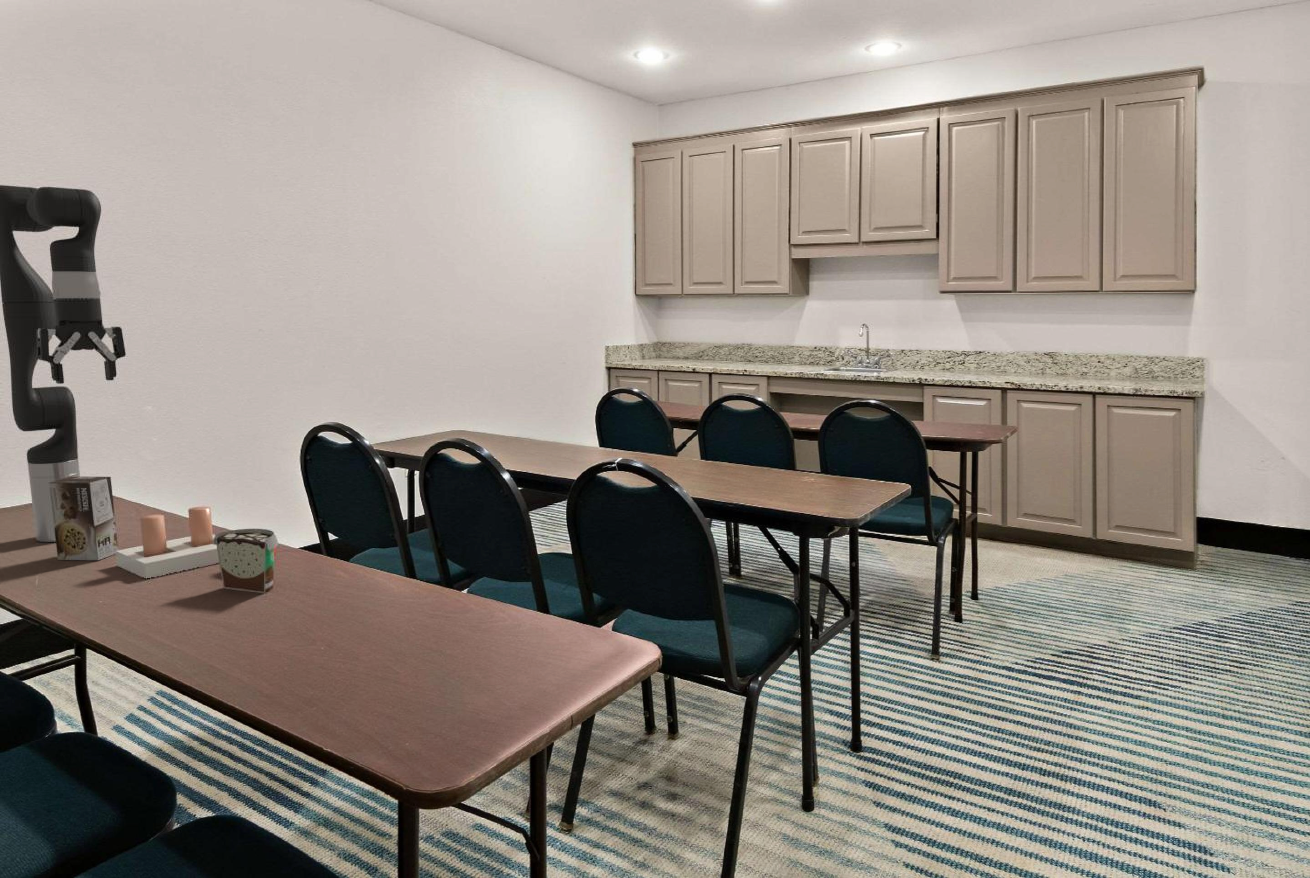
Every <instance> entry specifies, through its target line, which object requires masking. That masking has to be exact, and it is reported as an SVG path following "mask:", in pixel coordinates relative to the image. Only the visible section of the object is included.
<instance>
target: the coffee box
mask: <svg viewBox="0 0 1310 878" xmlns="http://www.w3.org/2000/svg"><path fill="white" fill-rule="evenodd" d="M49 491H50V499H51V507H52V515H53V523H54V531H55V539H56V541H55V546H56V555H57V560H58V561H101V560H103V559H106V558H108V557H111V556H114V555H116V551H118V550H119V545H118V543H119V542H118V536H117V525H116V514H115V504H114V496H113V486H112V477H111V476H80V477H67V478H63V479H60V480H57V481H54V482H50V483H49Z"/></svg>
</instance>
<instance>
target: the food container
mask: <svg viewBox="0 0 1310 878" xmlns="http://www.w3.org/2000/svg"><path fill="white" fill-rule="evenodd" d="M214 535H215V537H214V545H217V552H218V558H219V563H218V565H219V569H220V575H221V580H222V581H221V582H222V587H223V589H228V590H235V591H242V592H250V593H251V592H252V593H258V594H266V593H269V592H270V591H272V590H273V589H274V572H275V571H274V569H275V567H274V566H275V557H274V548H275V547H278V545H279V542H278V538H277V535H276V534H275V531H273V530H271V529H267V528H266V529H265V528H242V529H241V528H240V529H232V530H226V531H221V532H218V533H214Z"/></svg>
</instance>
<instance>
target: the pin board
mask: <svg viewBox="0 0 1310 878" xmlns="http://www.w3.org/2000/svg"><path fill="white" fill-rule="evenodd" d="M211 508H212V507H211V506H195V507H191V508H188V510H187V512H188V522H189V523H188V524H189V536H185V537H181V538H175V539H170V540H169V539H168V540H166V544H167V553H166V554H161V555H156V556H151V557H146V558H145V557H144V552H143V545H140V546H139V545H138V546H134V547H129V548H124V549H123V548H122V549H118V551H116V554H115V559H116V560H115V561H116V567H119V568H122V569H123V570H126V571H128V572H129V573H132V574H134V573H135V574H134V575H137V576H139V577H141V578H143V577H144V578H143V579H145V578H146V580H148V579H147V578H150V579H152V578H151V577H154V578H157V576H159V577H161V576H162V575H163V576H167V575H166V574H168V575H170V574H169V573H172V574H174V573H173V572H177V573H180V571H181V572H184V571H183V570H185V571H188V570H189V569H190V570H194V569H197V567H199V568H203V567H208V566H211V565H215V564H216V563H217V564H219V558H218V552H217V545H214V537H215V533H213V524H212V523H213V522H212V511H211V510H212V509H211ZM193 568H194V569H193ZM190 570H189V571H190Z"/></svg>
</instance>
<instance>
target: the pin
mask: <svg viewBox="0 0 1310 878" xmlns="http://www.w3.org/2000/svg"><path fill="white" fill-rule="evenodd" d="M165 524H166V523H165V515H163V514H149V515H145V516H141V517H140V529H141V540H142V546H143V552H144V557H145V558H146V557H151V556H156V555H161V554H166V553H167V544H166V541H167V535H166V525H165Z"/></svg>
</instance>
